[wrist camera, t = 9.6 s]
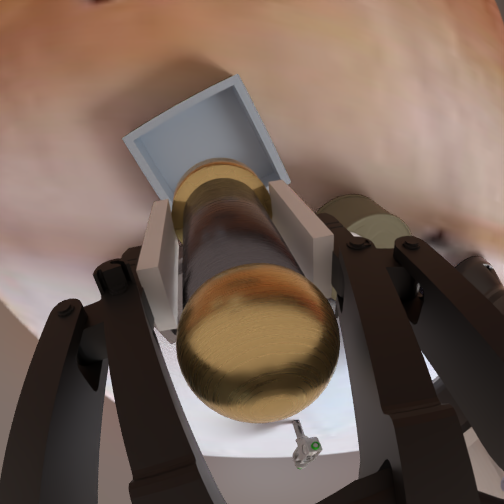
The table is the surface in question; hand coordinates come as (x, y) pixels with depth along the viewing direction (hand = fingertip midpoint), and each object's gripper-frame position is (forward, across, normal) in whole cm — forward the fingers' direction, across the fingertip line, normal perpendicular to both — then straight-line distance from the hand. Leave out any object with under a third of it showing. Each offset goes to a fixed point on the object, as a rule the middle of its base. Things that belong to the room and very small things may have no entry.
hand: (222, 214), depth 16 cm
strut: (+2, 0, 0) cm, 2 cm away
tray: (+18, 0, 0) cm, 18 cm away
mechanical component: (+18, +9, -56) cm, 59 cm away
